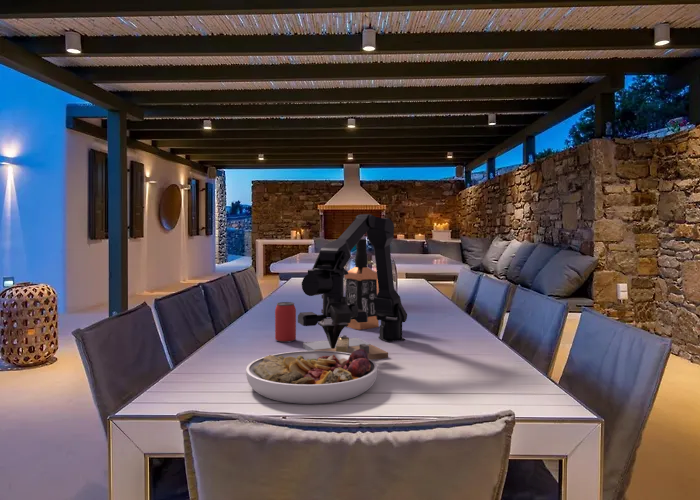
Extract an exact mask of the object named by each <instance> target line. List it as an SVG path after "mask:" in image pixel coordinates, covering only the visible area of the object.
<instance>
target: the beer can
mask: <svg viewBox="0 0 700 500" xmlns="http://www.w3.org/2000/svg"><path fill="white" fill-rule="evenodd" d="M274 313H275V314H274V315H275V316H274V317H275V318H274V328H275V329H274V332H275V333H274V335H275V336H274V337H275V338H274V339H275V340H276V341H277V342H280V343H289V342H294V341H296V339H297V308H296V306H295V303H294V302H291V301H290V302H289V301H281V302H277V303H276V306H275V310H274Z"/></svg>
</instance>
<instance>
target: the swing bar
mask: <svg viewBox="0 0 700 500" xmlns="http://www.w3.org/2000/svg"><path fill="white" fill-rule="evenodd" d="M349 338H350V337H347V335H345V334H343V335H341V334H340V335H339V338H338V342H337V345H336V352H345V353H347V349H348V346H349Z"/></svg>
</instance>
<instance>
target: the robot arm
mask: <svg viewBox="0 0 700 500" xmlns="http://www.w3.org/2000/svg"><path fill="white" fill-rule="evenodd" d="M394 224H395V223H394V222H393V221H392V220H391V218H388V217H386V218H385V217H379V216H375V215H373V214H371V213H369V214H366V213H365V214H358V215H356V216H355V219H354V221H352V222H351V223H350V225H349V226H348V227H347V228H346V229H345V230H344V231H343V233H342V234H341V235H339V237H338V238H337V239H335V240H332V241H330V242H328V243H326V244H325V245H323V246H322V247H321V248H320V250H319V253H318V255H317V257H316V260H315V262H314V264H313V266H312V267H311V269H308V270H307V274H306V275H305V276H304V277H303V278H302V282H301V289H302V291H303V293H304V294H305V295H307V296H309V297H314V296H319V295H321V299H322V308H321V313H320V314H317V313H315V312H313V311H306V312H304V311H303V312H301V311H300V312H299V314H298V315H297V323H298V324H300V325H301V326H304V327H312V326H314V327H315V326H317V325H318V326H321V328H322V330H323V331H324V334H325V336H326V339H327V340H328V341H329V344H330V347H331V348H332V349H334V348H335V346H336V343H337V340H338V338H339V337H340V336H341V333H342V331H343V330H344V328H346V326H348V324H347V323H350V322H351V319H355V320H356V321H357V322H358V323H359V322H368V315H367V313H366V312H365V311H363V310H360V309H358V305H357V304H350V305H347V304H346V299H345V295H344V293H345V292H344V291H345V275H348V272H347V271H348V270H347V269H345V267H346V265H347V264H348V263H349V260H350V259H351V257H352V254H351V251H352V250H353V249H354V248H355V246H356V245H357V243H358V242H359V240H360V239H363V237H364V236H365V234H366V237H367V241H369V243H370V244H371V246H372V247H373V251H374V259H375V269H376V270H375V271H376V272H377V289H378V291H377V296H376V297H375V298H374V300H373V301H374V310H375V312H376V317H377V320H379V321H380V324H379V336H378V339H380V340H383V341H385V342H387V343H388V342H389V343H390V342H398V341H405V338H404V337H403V323H406V321H407V319H408V313H407V312H406V310H405V308H404V307H403V305H402V300H401V299H402V298H401V296H400V295H399V293H398V292H397V291H396V289H395V285H394V273H393V272H394V271H393V265H392V256H391V246H390V245H391V244H392V243H391V242H392V241H393V239H394V238H395V237H394V236H395V235H394V233H395V232H394V230H395V225H394Z"/></svg>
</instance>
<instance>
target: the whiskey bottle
mask: <svg viewBox="0 0 700 500" xmlns="http://www.w3.org/2000/svg"><path fill="white" fill-rule="evenodd" d="M367 243H368V241H367V239H366V238H361V239H360V240H359V242H358V243H357V244H356V245H355V246H356V251H355V252H356V253H355V256H354V262H355V265H354V267H352V268H351V269H349V270H347V272H348V275H344V279H345V295H344V296H345V299H346V304H347V305H350V304H357V305H358V309H360V310H363V311H365V312H366V313H367V315H368V322H359V323H358V322H357V321H356V320H355V319H351V322H350V323H347V324H348V326H345V328H346V327H347V328H349V329H353V330H358V331H359V330H360V331H361V330H367V329H368V330H369V329H374V328H376V329H377V328H380V323H379V322H380V320H377V317H376V312H375V310H374V301H373V300H374V298H375V297H376V296H377V294H378V279H377V271H376V270H373V269H372V268H370V267H369V266H368V261H369V259H368V253H367V249H368V248H367Z"/></svg>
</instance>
